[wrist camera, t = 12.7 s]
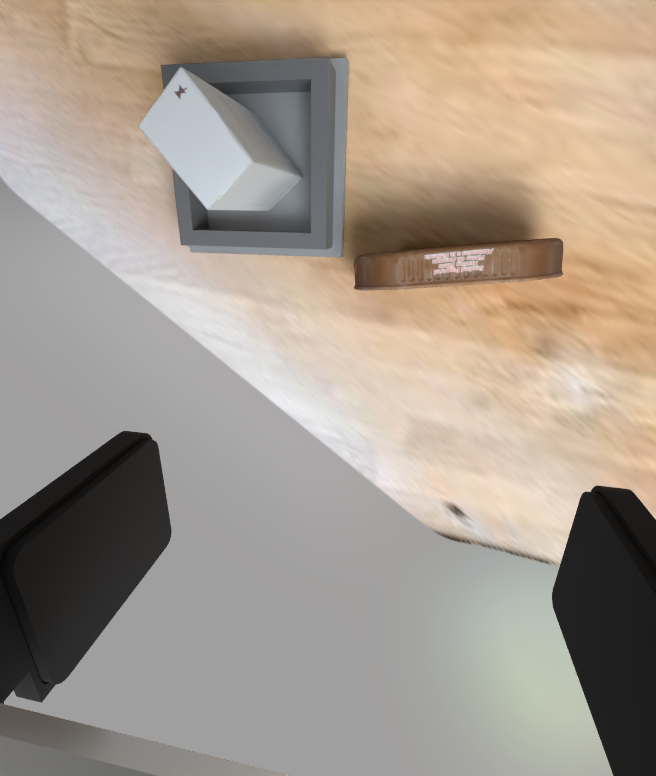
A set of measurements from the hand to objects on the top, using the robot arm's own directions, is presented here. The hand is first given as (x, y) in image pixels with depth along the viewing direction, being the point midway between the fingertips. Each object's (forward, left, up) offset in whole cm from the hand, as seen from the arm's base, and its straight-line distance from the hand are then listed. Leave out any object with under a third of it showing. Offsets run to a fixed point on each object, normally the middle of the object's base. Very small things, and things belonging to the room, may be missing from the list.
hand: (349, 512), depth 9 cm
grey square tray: (+12, -10, -30) cm, 34 cm away
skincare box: (+12, -10, -30) cm, 33 cm away
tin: (-4, -3, -31) cm, 31 cm away
